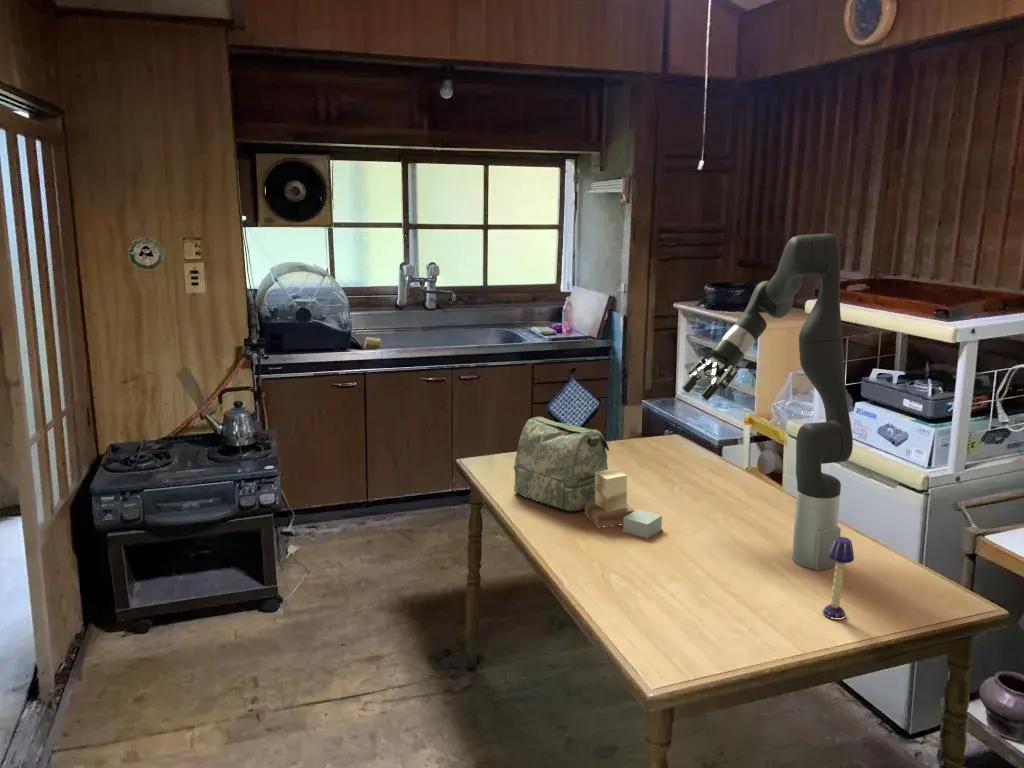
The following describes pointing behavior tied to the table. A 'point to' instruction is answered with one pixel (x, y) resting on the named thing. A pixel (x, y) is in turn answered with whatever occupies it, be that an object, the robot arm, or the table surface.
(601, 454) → the lunch bag
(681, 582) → the table surface
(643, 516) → the grey block
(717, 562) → the table surface
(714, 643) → the table surface
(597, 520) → the walnut block
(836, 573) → the toy lamp
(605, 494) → the oak block
